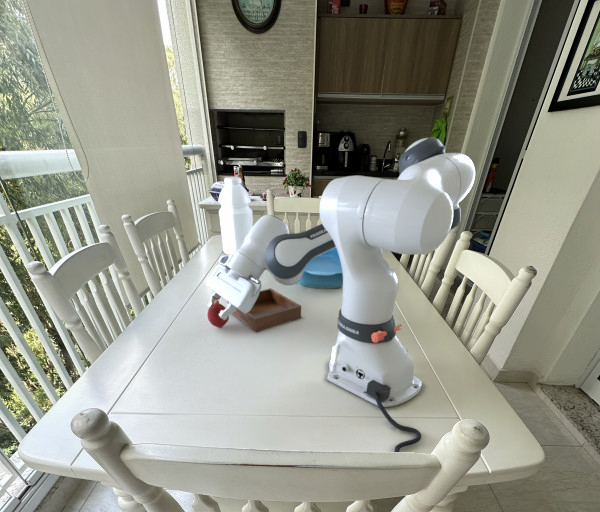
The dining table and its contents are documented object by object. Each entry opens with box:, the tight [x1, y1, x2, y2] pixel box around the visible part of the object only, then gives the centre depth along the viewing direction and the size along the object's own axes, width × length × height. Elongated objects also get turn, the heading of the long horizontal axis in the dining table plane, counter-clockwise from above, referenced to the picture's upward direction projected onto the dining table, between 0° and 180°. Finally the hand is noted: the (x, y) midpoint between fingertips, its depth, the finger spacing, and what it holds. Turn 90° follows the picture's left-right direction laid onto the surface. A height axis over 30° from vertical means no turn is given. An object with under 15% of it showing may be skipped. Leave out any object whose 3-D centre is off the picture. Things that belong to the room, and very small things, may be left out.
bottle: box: [217, 176, 254, 255], centre depth 148 cm, size 14×14×28 cm
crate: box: [227, 287, 302, 333], centre depth 106 cm, size 17×16×4 cm
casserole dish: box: [297, 248, 343, 289], centre depth 133 cm, size 37×22×7 cm, turn 175°
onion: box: [206, 300, 230, 329], centre depth 98 cm, size 6×6×8 cm
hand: (215, 313), depth 97 cm, fingers closed on onion, 6 cm apart
